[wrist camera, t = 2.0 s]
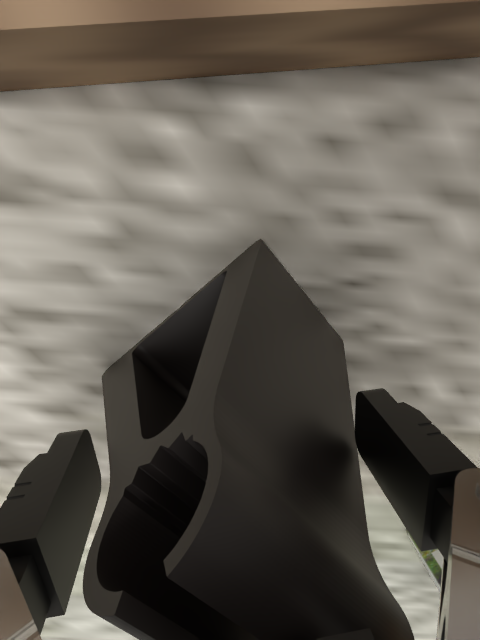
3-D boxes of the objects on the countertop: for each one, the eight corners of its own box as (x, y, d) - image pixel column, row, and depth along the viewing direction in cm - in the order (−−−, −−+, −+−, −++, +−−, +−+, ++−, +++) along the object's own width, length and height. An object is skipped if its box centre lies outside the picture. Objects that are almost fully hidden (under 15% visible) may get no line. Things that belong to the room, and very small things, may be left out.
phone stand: (194, 450, 19) (192, 857, 7) (103, 371, 17) (-91, 760, 5) (340, 338, 17) (605, 618, 6) (260, 237, 15) (436, 380, 4)
